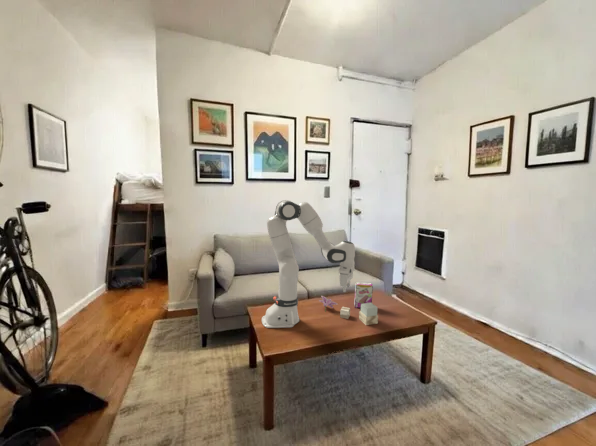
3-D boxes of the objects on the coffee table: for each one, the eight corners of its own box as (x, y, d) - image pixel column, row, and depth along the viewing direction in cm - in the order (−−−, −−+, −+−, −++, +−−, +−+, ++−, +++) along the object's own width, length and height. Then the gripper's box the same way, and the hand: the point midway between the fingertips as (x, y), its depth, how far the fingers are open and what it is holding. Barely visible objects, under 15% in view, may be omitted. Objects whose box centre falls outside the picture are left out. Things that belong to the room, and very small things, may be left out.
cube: (348, 319, 165) (348, 311, 164) (340, 317, 167) (340, 309, 166) (349, 315, 169) (350, 308, 169) (342, 314, 171) (342, 306, 171)
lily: (339, 314, 174) (340, 298, 177) (326, 311, 167) (327, 295, 171) (326, 313, 183) (327, 298, 186) (313, 310, 176) (315, 295, 180)
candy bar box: (354, 308, 181) (355, 284, 179) (354, 304, 186) (355, 281, 184) (371, 309, 180) (373, 285, 178) (370, 305, 185) (371, 282, 183)
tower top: (366, 316, 158) (367, 308, 157) (360, 311, 164) (360, 303, 164) (377, 315, 160) (377, 307, 159) (370, 310, 166) (371, 302, 166)
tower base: (365, 325, 158) (366, 317, 157) (358, 319, 165) (359, 311, 165) (377, 323, 160) (378, 315, 159) (370, 317, 167) (370, 310, 167)
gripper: (345, 262, 175) (345, 283, 177) (337, 271, 156) (337, 294, 158) (355, 263, 173) (354, 284, 174) (348, 272, 154) (347, 295, 156)
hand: (346, 289), depth 166 cm, fingers open, 8 cm apart
